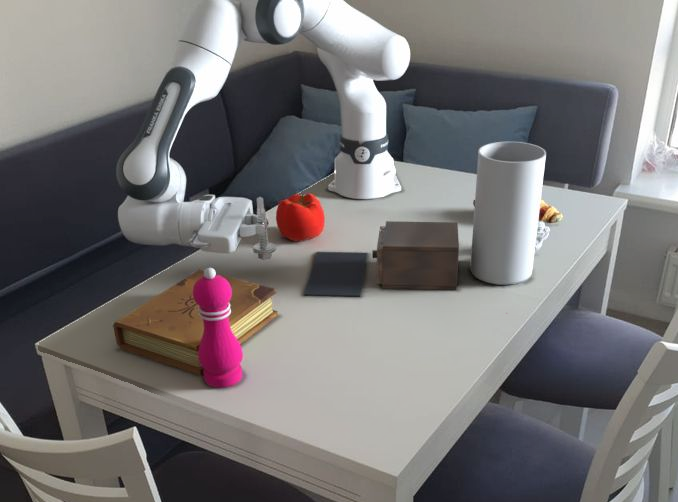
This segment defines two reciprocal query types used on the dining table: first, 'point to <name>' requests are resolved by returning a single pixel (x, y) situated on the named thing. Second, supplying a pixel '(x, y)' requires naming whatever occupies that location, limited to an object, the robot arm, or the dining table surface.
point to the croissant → (546, 213)
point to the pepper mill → (217, 331)
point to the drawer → (379, 255)
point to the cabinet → (420, 255)
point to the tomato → (300, 217)
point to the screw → (263, 246)
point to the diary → (189, 322)
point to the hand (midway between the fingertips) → (266, 225)
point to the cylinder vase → (506, 211)
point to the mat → (337, 274)
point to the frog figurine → (541, 234)
